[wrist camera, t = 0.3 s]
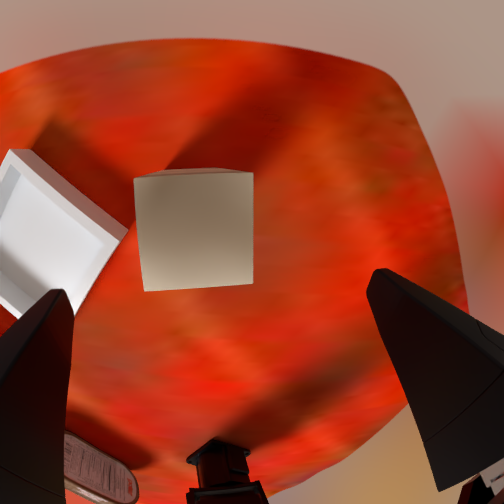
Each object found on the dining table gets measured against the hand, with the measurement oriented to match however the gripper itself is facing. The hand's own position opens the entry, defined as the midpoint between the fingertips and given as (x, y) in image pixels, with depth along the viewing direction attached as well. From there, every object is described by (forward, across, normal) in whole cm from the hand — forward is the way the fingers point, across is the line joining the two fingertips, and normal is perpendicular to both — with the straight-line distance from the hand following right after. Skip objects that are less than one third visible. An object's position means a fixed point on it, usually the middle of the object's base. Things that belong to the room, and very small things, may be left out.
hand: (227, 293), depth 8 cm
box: (+14, +14, +7) cm, 21 cm away
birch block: (+15, +1, +4) cm, 16 cm away
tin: (+6, +17, +34) cm, 39 cm away
